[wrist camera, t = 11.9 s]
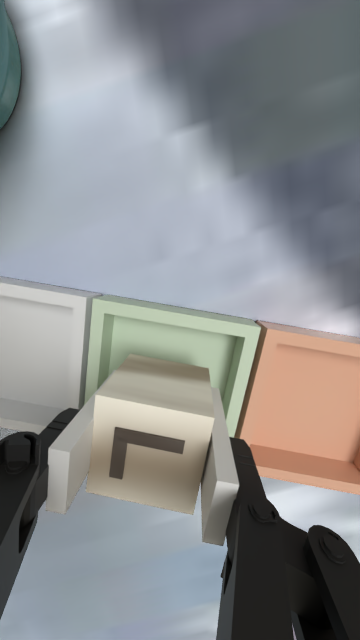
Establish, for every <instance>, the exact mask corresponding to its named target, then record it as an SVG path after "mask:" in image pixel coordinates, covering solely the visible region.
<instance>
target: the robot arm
mask: <svg viewBox="0 0 360 640" xmlns="http://www.w3.org/2000/svg"><path fill="white" fill-rule="evenodd" d="M115 371H116V370H113V372H112V373H111V374H110V375H109V376H108V378H107V379H106V380H105V381H104V382H103V384H102V385H101V386H100V387H99V388H98V390H97V391H96V392H95V393H94V394H93V396H92V397H91V398H90V399H89V400H88V402H87V403H86V404H85V405H84V406H83V408H82V409H81V410H79V409H74V408H68V409H66V410H64V411H62V412H61V413H59V414H58V415H57V416H56V417H55V418H54V419H53V420H52V422H50V423H49V424H48V425H47V426H46V428H45V429H44V430H43V431H42V432H41V433H40V434H39V435H38V434H36V433H34V432H29V431H25V432H17V433H14V434H11V435H9V436H7V437H5V438H3V439H2V440H1V441H0V619H1V616H2V614H3V611H4V608H5V606H6V603H7V600H8V598H9V595H10V592H11V590H12V587H13V584H14V582H15V579H16V576H17V574H18V571H19V568H20V566H21V563H22V560H23V558H24V555H25V552H26V550H27V547H28V544H29V542H30V539H31V536H32V534H33V531H34V528H35V526H36V523H37V518H38V510H39V509H40V507H41V506H42V504H43V503H44V501H45V500H46V511H50V512H55V513H60V514H66V512H67V511H68V509H69V507H70V505H71V503H72V501H73V499H74V497H75V496H76V494H77V492H78V490H79V488H80V486H81V484H82V483H83V481H84V479H85V477H86V475H87V473H88V471H89V467H90V457H91V446H92V436H93V425H94V417H93V415H94V405H95V395H96V393H97V392H98V391H99V390H100V389H101V388H102V386H103V385H104V384H105V383H106V382H107V381H108V379H109V378H110V377H111V376H112V375H113V373H114V372H115ZM211 391H212V399H213V408H214V416H215V419H214V424H213V428H212V432H211V437H210V441H209V446H208V450H207V455H206V459H205V464H204V468H203V473H202V477H201V510H202V542H205V543H210V544H215V545H220V546H223V544H224V541H225V537H226V538H227V547H228V551H227V555H226V559H225V562H224V566H223V570H222V573H221V577H222V578H223V583H222V592H221V601H220V610H219V619H218V628H217V637H216V640H294V637H293V628H292V624H293V627H294V631H295V635H296V639H297V640H360V563H359V561H358V559H357V558H356V556H355V554H354V553H353V551H352V550H351V548H350V547H349V545H348V544H347V543H346V542H345V541H344V540H343V539H342V538H341V537H340V536H339V535H338V534H336V533H335V532H333V531H332V530H331V529H329V528H326V527H324V526H321V525H313V526H312V527H311V528H309V531H308V533H307V532H305V531H303V530H301V529H299V528H297V527H295V526H293V525H291V524H290V523H288V522H286V521H285V520H283V519H282V518H281V517H280V516H279V513H278V511H277V510H276V508H275V507H274V505H273V504H272V503H271V502H270V501H268V500H267V498H266V495H265V492H264V489H263V486H262V483H261V479H260V476H259V473H258V470H257V467H256V464H255V461H254V459H253V454H252V451H251V448H250V447H249V446H248V444H247V443H246V442H245V440H244V439H239V438H233V437H229V434H228V429H227V424H226V420H225V415H224V410H223V405H222V401H221V396H220V391H219V388H213V387H211Z"/></svg>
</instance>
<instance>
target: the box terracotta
mask: <svg viewBox="0 0 360 640" xmlns="http://www.w3.org/2000/svg"><path fill="white" fill-rule="evenodd" d="M256 324H258V325H259V326H260V327H261V330H260V334H259V338H258V342H257V346H256V350H255V355H254V359H253V363H252V367H251V371H250V375H249V379H248V383H247V387H246V391H245V395H244V399H243V403H242V407H241V411H240V415H239V419H238V423H237V427H236V431H235V435H234V438H239V439H244V440H245V442H246V443H247V444H248V446H249V447H250V448H251V451H252V454H253V459H254V461H255V464H256V467H257V470H258V473H259V476H262V477H268V478H273V479H278V480H284V481H289V482H294V483H300V484H305V485H310V486H316V487H321V488H326V489H332V490H337V491H342V492H347V493H353V494H358V495H360V338H358V337H352V336H346V335H340V334H334V333H329V332H323V331H317V330H311V329H305V328H299V327H293V326H288V325H282V324H276V323H270V322H264V321H258V320H257V321H256Z"/></svg>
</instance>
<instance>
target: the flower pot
mask: <svg viewBox="0 0 360 640" xmlns="http://www.w3.org/2000/svg"><path fill="white" fill-rule="evenodd" d="M20 78H21V63H20V54H19V47H18V43H17V39H16V35H15V33H14V30H13V27H12V24H11V21H10V19H9V17H8V14H7V12H6V10H5V5H4V0H0V129H1V128H2V127H3V126H4V124H5V123H6V122H7V120H8V118H9V117H10V115H11V113H12V111H13V108H14V106H15V103H16V100H17V97H18V93H19V87H20Z"/></svg>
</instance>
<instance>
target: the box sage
mask: <svg viewBox="0 0 360 640" xmlns="http://www.w3.org/2000/svg"><path fill="white" fill-rule="evenodd" d="M260 330H261V327H260V326H259V325H258V324H256V323H255V322H254V321H253V320H251V319H247V318H241V317H235V316H229V315H223V314H218V313H212V312H206V311H200V310H194V309H188V308H182V307H177V306H171V305H165V304H159V303H153V302H147V301H142V300H136V299H130V298H124V297H118V296H112V295H104V296H101V297H97V298H93V302H92V315H91V327H90V339H89V352H88V364H87V376H86V389H85V401H84V405H85V404H86V403H87V402H88V400H89V399H90V398H91V397H92V396H93V394H94V393H95V392H96V391H97V390H98V388H99V387H100V386H101V385H102V384H103V382H104V381H105V380H106V379H107V378H108V376H109V375H110V374H111V373H112V372H113V370H117V369H118V368H119V366H120V365H121V364H122V363H123V362H124V360H125V359H126V358H127V357H128V356H129V355H130V354H135V355H141V356H146V357H151V358H157V359H162V360H167V361H173V362H178V363H184V364H189V365H194V366H200V367H205V368H209V374H210V383H211V387H213V388H219V391H220V396H221V401H222V405H223V410H224V415H225V420H226V424H227V429H228V434H229V437H233V438H234V435H235V431H236V427H237V423H238V419H239V415H240V411H241V407H242V403H243V399H244V395H245V391H246V387H247V383H248V379H249V375H250V371H251V367H252V363H253V359H254V355H255V350H256V346H257V342H258V338H259V334H260Z"/></svg>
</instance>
